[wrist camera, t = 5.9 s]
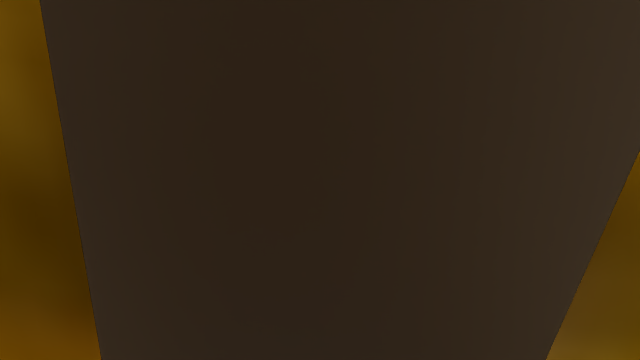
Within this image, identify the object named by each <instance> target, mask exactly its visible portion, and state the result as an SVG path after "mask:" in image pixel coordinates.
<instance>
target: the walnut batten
mask: <svg viewBox="0 0 640 360" xmlns="http://www.w3.org/2000/svg"><path fill="white" fill-rule="evenodd" d="M40 6H41V11H42V17H43V23H44V29H45V35H46V40H47V46H48V52H49V58H50V63H51V69H52V75H53V81H54V87H55V92H56V98H57V104H58V110H59V116H60V121H61V127H62V133H63V139H64V144H65V150H66V156H67V162H68V168H69V173H70V179H71V185H72V191H73V196H74V202H75V208H76V214H77V220H78V225H79V231H80V237H81V243H82V248H83V254H84V260H85V266H86V272H87V277H88V283H89V289H90V295H91V301H92V306H93V312H94V318H95V324H96V329H97V335H98V341H99V347H100V353H101V358H102V360H546V358H547V355H548V353H549V351H550V349H551V346H552V344H553V342H554V340H555V338H556V335H557V333H558V331H559V329H560V326H561V324H562V322H563V320H564V318H565V315H566V313H567V311H568V309H569V306H570V304H571V302H572V300H573V297H574V295H575V293H576V291H577V289H578V286H579V284H580V282H581V280H582V277H583V275H584V273H585V271H586V269H587V266H588V264H589V262H590V260H591V257H592V255H593V253H594V251H595V249H596V246H597V244H598V242H599V240H600V237H601V235H602V233H603V231H604V228H605V226H606V224H607V222H608V220H609V217H610V215H611V213H612V211H613V208H614V206H615V204H616V202H617V200H618V197H619V195H620V193H621V191H622V188H623V186H624V184H625V182H626V179H627V177H628V175H629V173H630V171H631V168H632V166H633V164H634V162H635V159H636V157H637V155H638V153H639V151H640V0H40Z"/></svg>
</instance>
